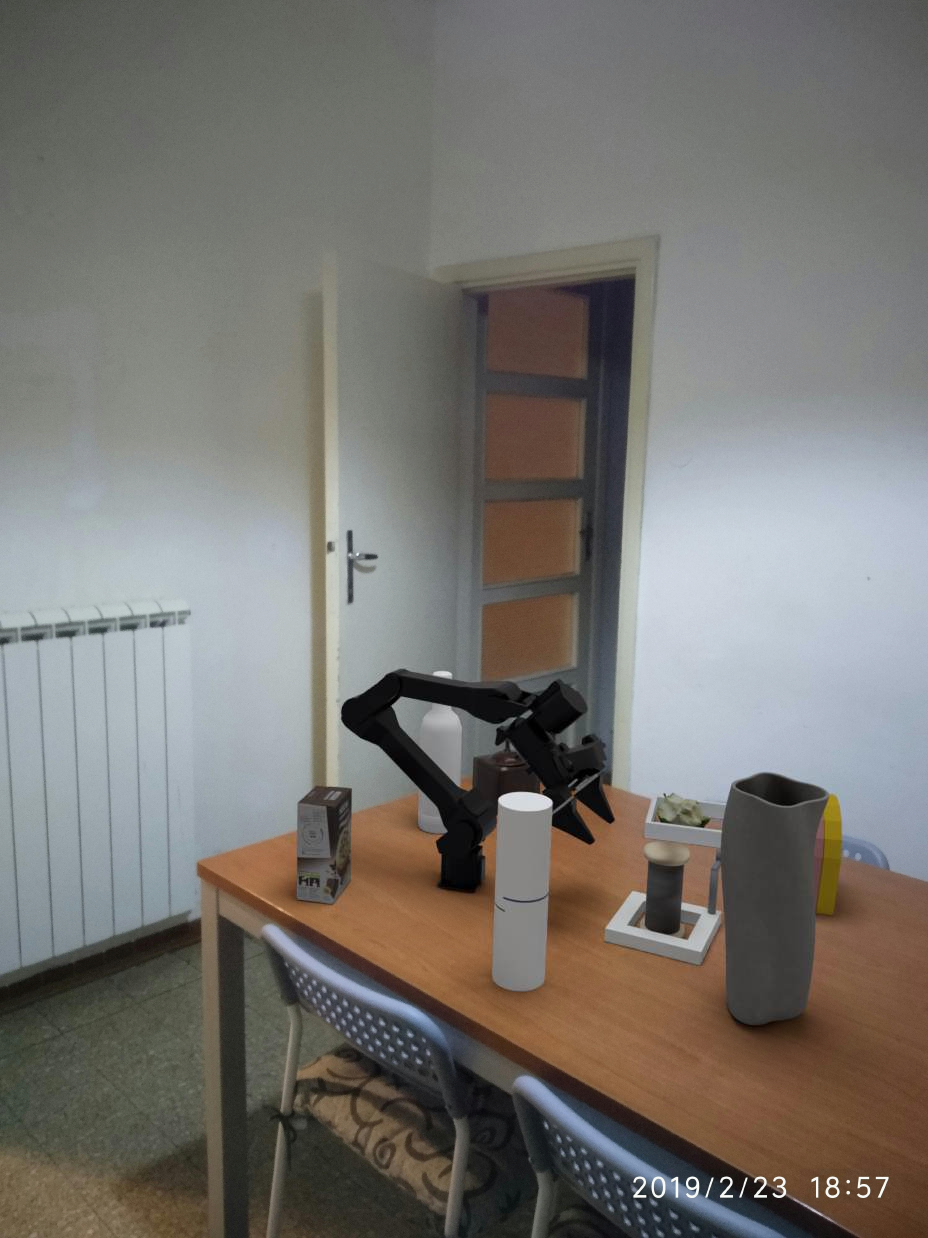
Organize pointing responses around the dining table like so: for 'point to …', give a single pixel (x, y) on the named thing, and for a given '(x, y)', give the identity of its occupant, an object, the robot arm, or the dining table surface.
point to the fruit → (681, 812)
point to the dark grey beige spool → (664, 888)
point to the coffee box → (324, 843)
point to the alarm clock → (827, 857)
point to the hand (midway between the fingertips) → (603, 832)
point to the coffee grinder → (503, 774)
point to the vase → (769, 895)
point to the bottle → (439, 755)
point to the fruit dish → (685, 832)
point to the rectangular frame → (666, 945)
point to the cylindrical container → (521, 890)
